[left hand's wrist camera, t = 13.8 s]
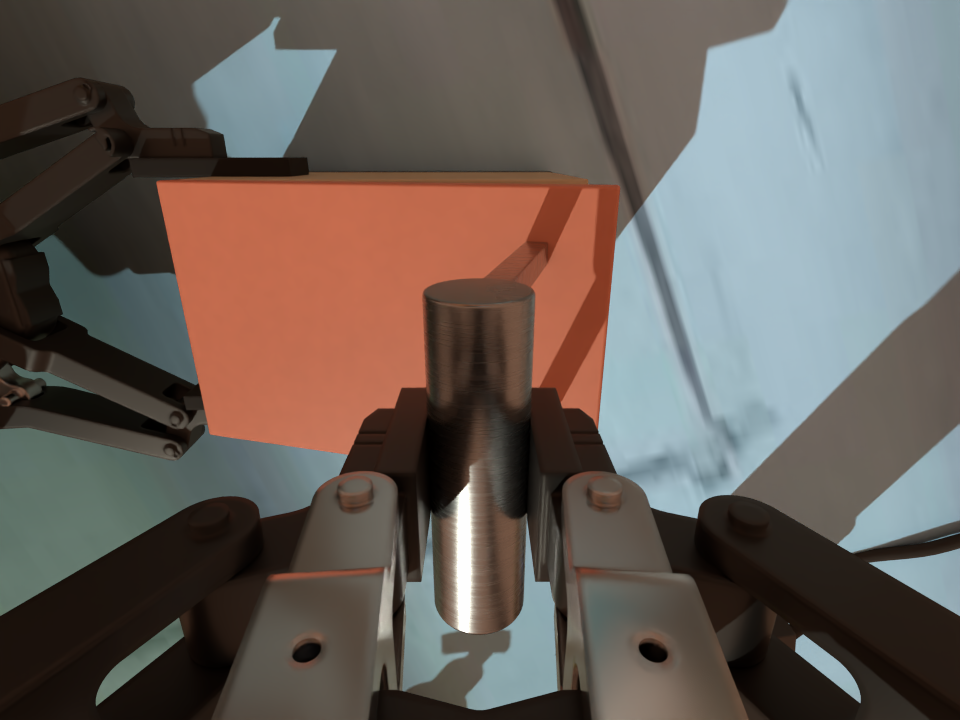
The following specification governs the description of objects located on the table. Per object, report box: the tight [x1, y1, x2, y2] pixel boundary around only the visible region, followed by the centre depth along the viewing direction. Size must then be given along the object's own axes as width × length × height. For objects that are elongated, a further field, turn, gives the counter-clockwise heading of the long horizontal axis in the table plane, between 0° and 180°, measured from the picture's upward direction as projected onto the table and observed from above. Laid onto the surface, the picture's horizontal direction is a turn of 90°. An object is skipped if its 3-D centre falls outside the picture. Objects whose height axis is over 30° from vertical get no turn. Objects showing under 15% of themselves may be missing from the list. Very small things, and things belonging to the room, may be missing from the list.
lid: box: [156, 180, 620, 635], centre depth 15 cm, size 16×10×9 cm, turn 90°
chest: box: [179, 171, 588, 184], centre depth 26 cm, size 15×10×10 cm, turn 90°
